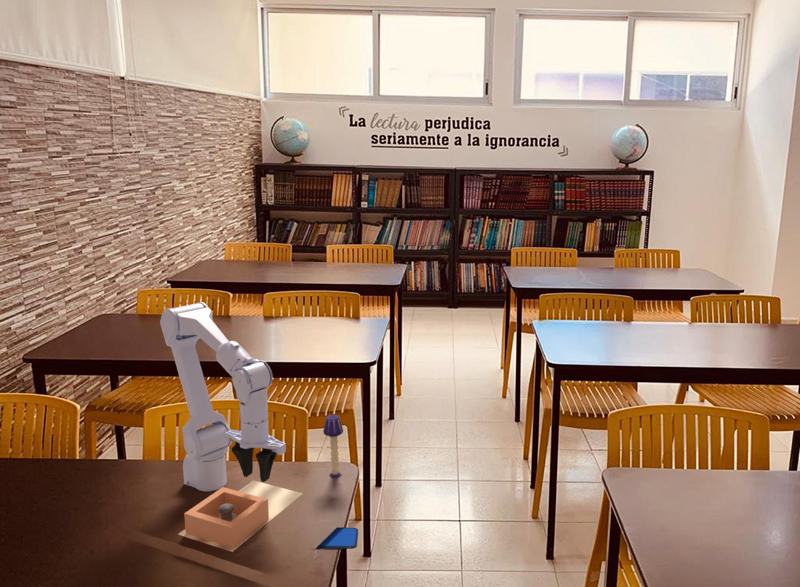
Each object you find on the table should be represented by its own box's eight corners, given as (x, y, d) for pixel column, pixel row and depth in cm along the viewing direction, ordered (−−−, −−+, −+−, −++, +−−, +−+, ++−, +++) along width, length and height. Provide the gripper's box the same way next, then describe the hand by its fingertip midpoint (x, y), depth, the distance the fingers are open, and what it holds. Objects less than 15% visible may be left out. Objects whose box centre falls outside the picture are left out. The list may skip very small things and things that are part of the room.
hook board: (178, 540, 140) (176, 515, 139) (253, 486, 162) (252, 464, 161) (232, 558, 134) (231, 532, 133) (303, 499, 156) (302, 476, 155)
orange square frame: (185, 533, 140) (184, 513, 139) (224, 505, 150) (222, 486, 149) (232, 548, 135) (231, 527, 134) (268, 518, 145) (268, 499, 144)
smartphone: (356, 547, 137) (282, 546, 137) (356, 551, 138) (282, 550, 137) (358, 527, 144) (287, 526, 144) (358, 530, 145) (287, 530, 144)
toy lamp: (339, 487, 162) (338, 421, 158) (321, 484, 163) (319, 418, 159) (347, 478, 166) (346, 413, 162) (329, 475, 167) (328, 411, 164)
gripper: (214, 418, 143) (217, 477, 147) (270, 432, 137) (272, 493, 140) (236, 407, 150) (239, 464, 153) (291, 419, 143) (292, 478, 146)
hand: (256, 477), depth 147 cm, fingers open, 4 cm apart
